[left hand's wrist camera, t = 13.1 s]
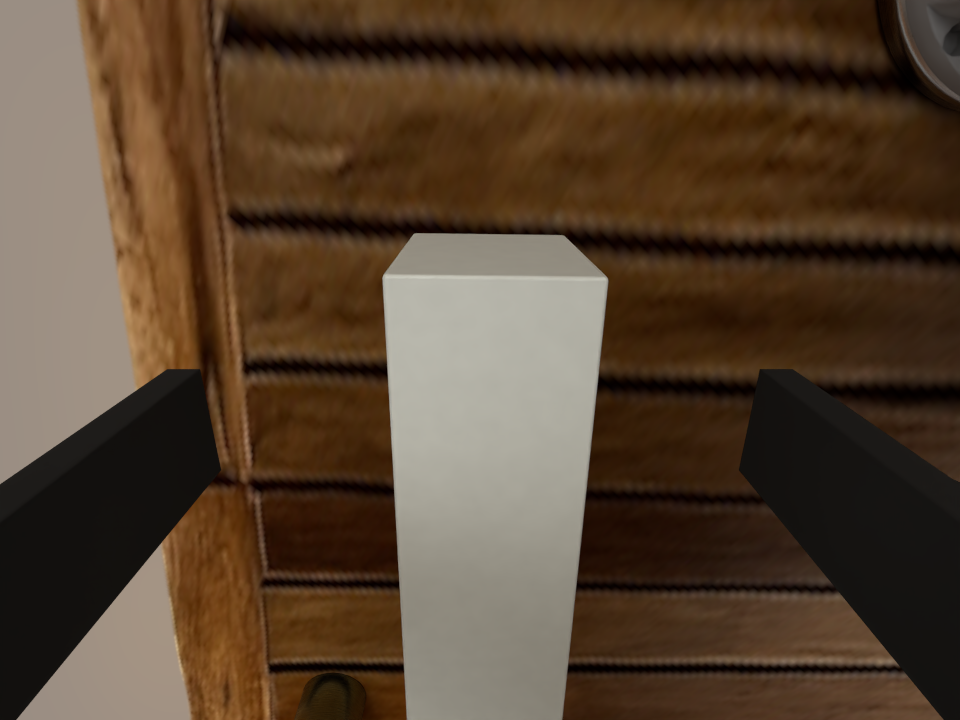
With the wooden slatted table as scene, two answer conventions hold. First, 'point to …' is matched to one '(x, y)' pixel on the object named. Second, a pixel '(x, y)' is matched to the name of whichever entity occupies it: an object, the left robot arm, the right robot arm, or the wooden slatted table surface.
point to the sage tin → (332, 698)
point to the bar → (490, 465)
